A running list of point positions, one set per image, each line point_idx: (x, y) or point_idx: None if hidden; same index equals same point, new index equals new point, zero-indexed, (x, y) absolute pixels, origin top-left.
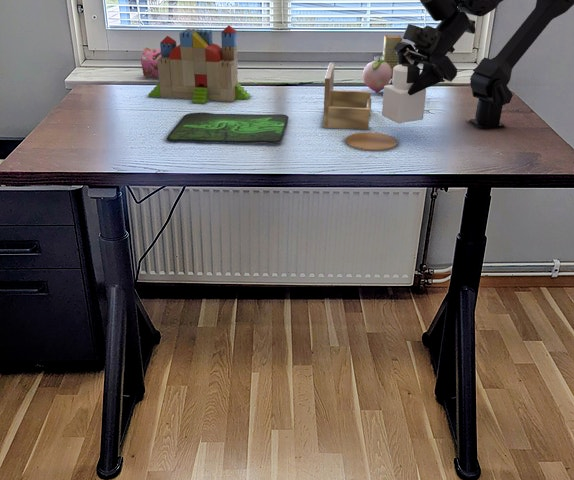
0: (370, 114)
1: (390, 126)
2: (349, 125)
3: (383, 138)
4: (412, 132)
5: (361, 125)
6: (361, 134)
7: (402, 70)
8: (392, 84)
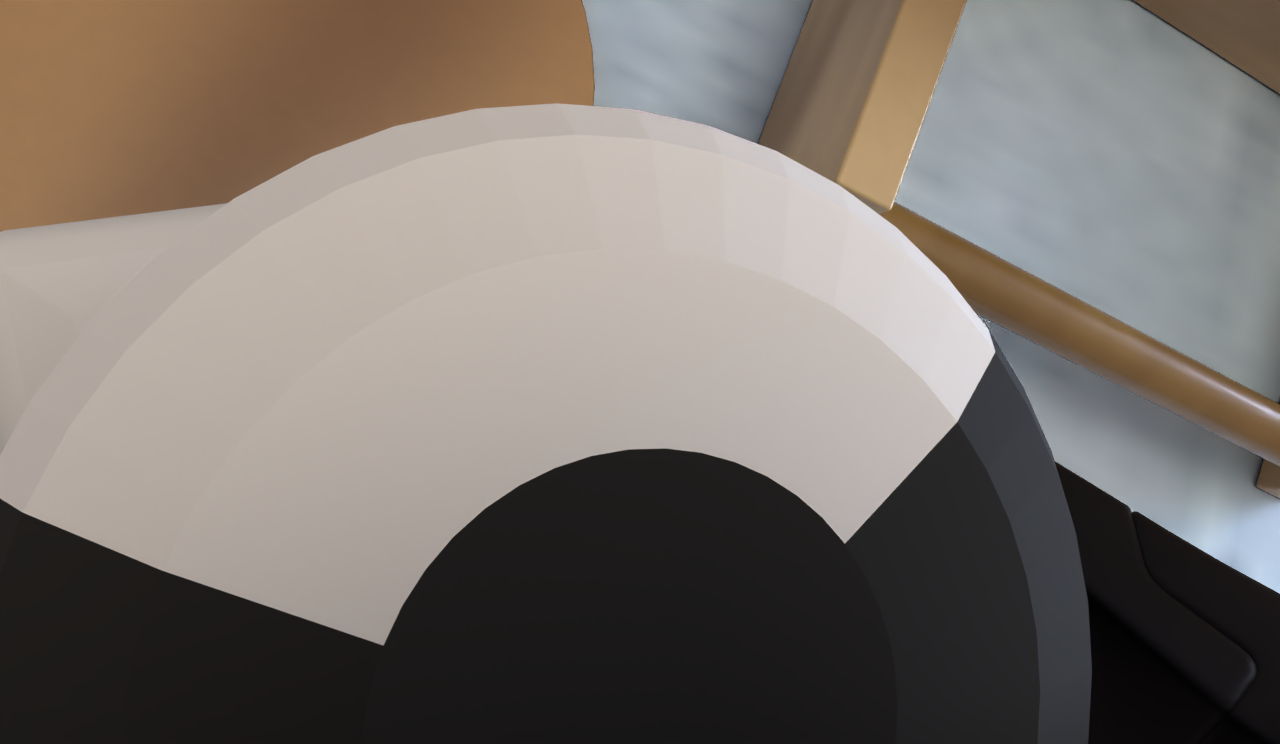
0: None
1: None
2: (812, 24)
3: None
4: None
5: (771, 146)
6: (532, 43)
7: (152, 283)
8: None
